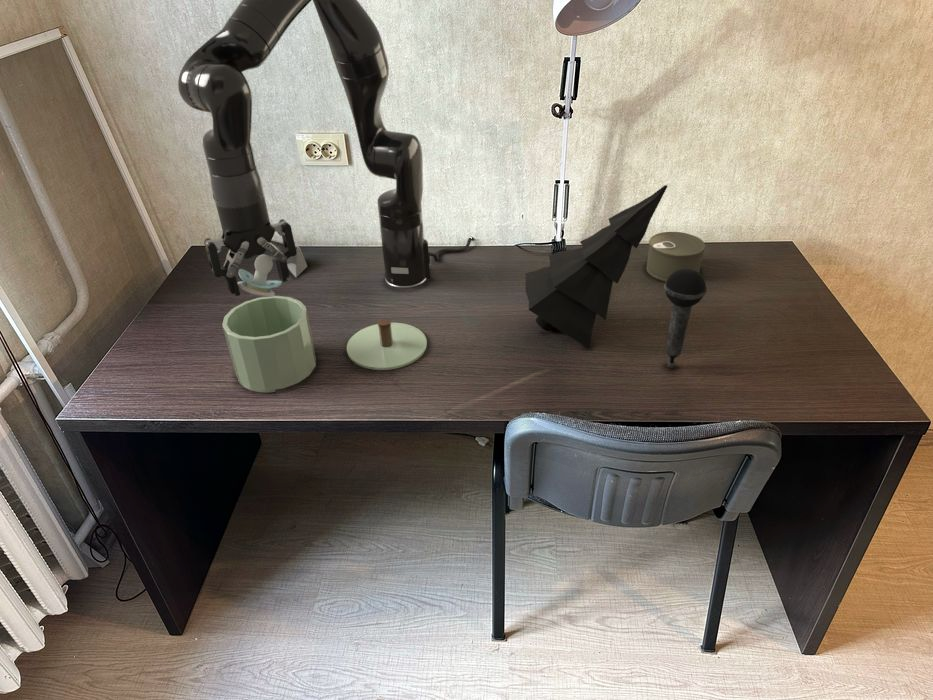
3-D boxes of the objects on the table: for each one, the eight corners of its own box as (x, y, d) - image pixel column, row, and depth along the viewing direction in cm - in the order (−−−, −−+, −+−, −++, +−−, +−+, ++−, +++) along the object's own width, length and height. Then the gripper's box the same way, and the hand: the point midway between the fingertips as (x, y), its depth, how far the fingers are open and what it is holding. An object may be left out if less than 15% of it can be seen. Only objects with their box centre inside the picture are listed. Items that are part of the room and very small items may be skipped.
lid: (403, 319, 138) (401, 293, 135) (441, 354, 128) (440, 327, 124) (334, 343, 132) (330, 316, 128) (368, 382, 121) (364, 354, 117)
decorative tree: (576, 363, 130) (709, 225, 113) (514, 326, 125) (643, 177, 108) (568, 322, 142) (687, 192, 125) (511, 287, 137) (627, 147, 120)
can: (710, 279, 149) (716, 251, 145) (660, 286, 147) (664, 258, 143) (683, 255, 158) (688, 228, 154) (636, 262, 156) (640, 235, 152)
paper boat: (321, 263, 157) (292, 269, 150) (310, 281, 161) (281, 288, 154) (292, 226, 160) (261, 230, 152) (281, 245, 163) (251, 250, 156)
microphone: (683, 383, 118) (703, 284, 107) (645, 372, 121) (661, 274, 110) (694, 363, 123) (715, 266, 112) (658, 353, 126) (674, 257, 115)
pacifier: (273, 303, 113) (280, 290, 119) (282, 270, 111) (289, 258, 116) (229, 289, 112) (239, 277, 117) (237, 255, 109) (247, 245, 115)
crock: (299, 338, 133) (289, 288, 127) (328, 374, 123) (318, 321, 117) (227, 362, 127) (213, 311, 121) (251, 402, 117) (236, 348, 111)
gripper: (200, 215, 100) (225, 308, 109) (291, 193, 106) (307, 283, 116) (187, 199, 105) (212, 290, 115) (274, 179, 111) (292, 267, 121)
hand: (260, 286), depth 115 cm, fingers closed on pacifier, 8 cm apart
